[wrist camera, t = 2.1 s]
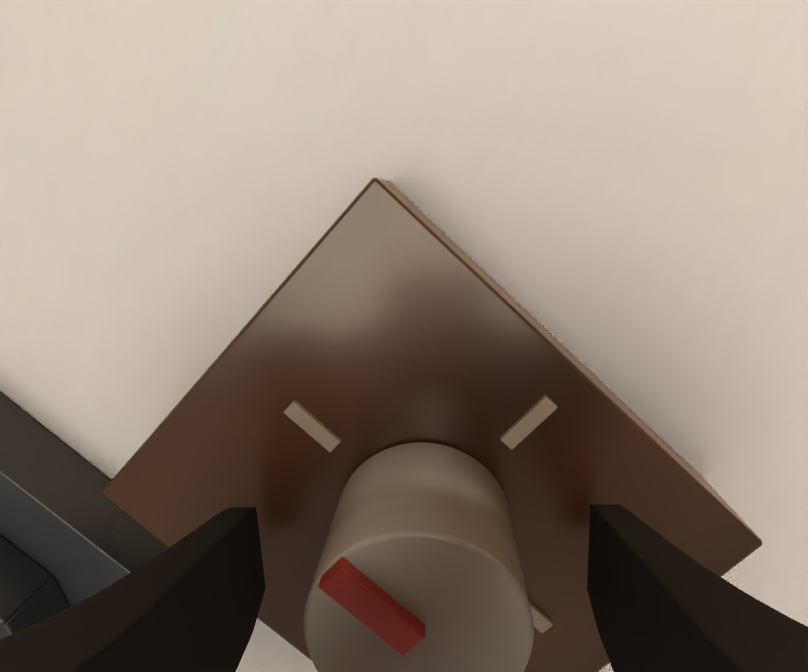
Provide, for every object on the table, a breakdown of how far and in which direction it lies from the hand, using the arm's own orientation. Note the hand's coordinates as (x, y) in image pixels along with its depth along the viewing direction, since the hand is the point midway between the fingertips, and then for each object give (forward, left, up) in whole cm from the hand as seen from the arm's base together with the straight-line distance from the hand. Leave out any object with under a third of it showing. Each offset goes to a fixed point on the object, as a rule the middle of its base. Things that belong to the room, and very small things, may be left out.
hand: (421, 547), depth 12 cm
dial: (0, 0, -1) cm, 1 cm away
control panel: (0, 0, -4) cm, 4 cm away
